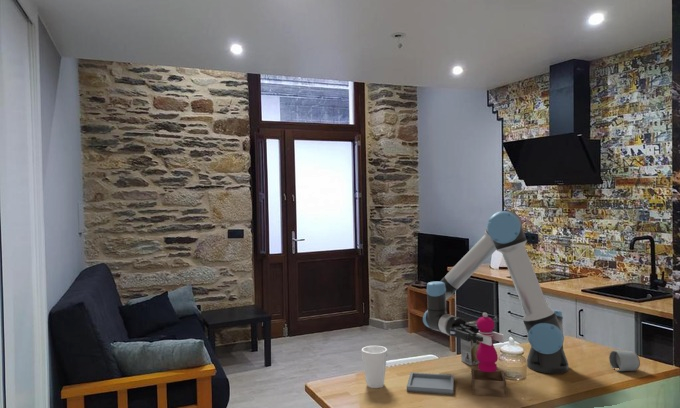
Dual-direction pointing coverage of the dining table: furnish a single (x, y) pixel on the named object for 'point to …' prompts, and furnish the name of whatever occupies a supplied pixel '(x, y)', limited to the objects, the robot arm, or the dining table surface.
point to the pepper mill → (486, 346)
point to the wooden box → (488, 383)
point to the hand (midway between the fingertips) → (497, 340)
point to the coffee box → (469, 349)
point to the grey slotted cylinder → (624, 360)
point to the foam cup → (374, 365)
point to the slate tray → (430, 383)
